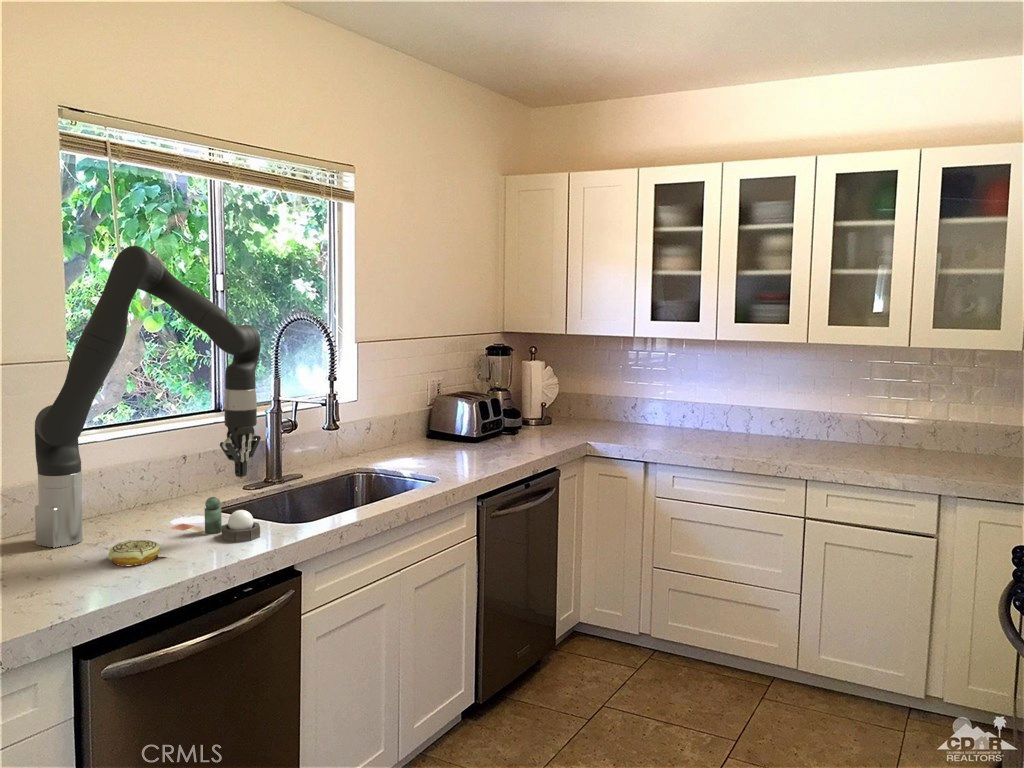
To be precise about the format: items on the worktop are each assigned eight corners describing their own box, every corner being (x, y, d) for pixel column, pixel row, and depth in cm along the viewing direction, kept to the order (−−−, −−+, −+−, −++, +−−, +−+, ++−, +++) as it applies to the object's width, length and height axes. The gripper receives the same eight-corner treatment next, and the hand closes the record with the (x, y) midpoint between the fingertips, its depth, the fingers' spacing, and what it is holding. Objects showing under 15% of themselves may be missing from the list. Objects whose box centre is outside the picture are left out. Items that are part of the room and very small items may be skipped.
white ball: (242, 538, 203) (242, 514, 202) (222, 535, 205) (222, 511, 204) (258, 532, 208) (258, 509, 208) (239, 529, 210) (239, 506, 210)
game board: (242, 549, 200) (242, 534, 200) (161, 535, 209) (161, 520, 209) (268, 538, 210) (268, 523, 209) (189, 525, 219) (189, 511, 218)
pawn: (214, 535, 207) (213, 499, 206) (201, 532, 208) (200, 497, 207) (225, 530, 211) (224, 496, 210) (212, 528, 212) (212, 494, 211)
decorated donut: (100, 567, 185) (99, 551, 185) (122, 552, 196) (122, 536, 195) (146, 568, 185) (146, 552, 185) (166, 553, 196) (166, 538, 195)
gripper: (235, 411, 196) (235, 483, 198) (270, 404, 208) (270, 472, 210) (209, 409, 198) (210, 480, 200) (245, 402, 211) (246, 469, 213)
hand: (241, 476), depth 205 cm, fingers closed
